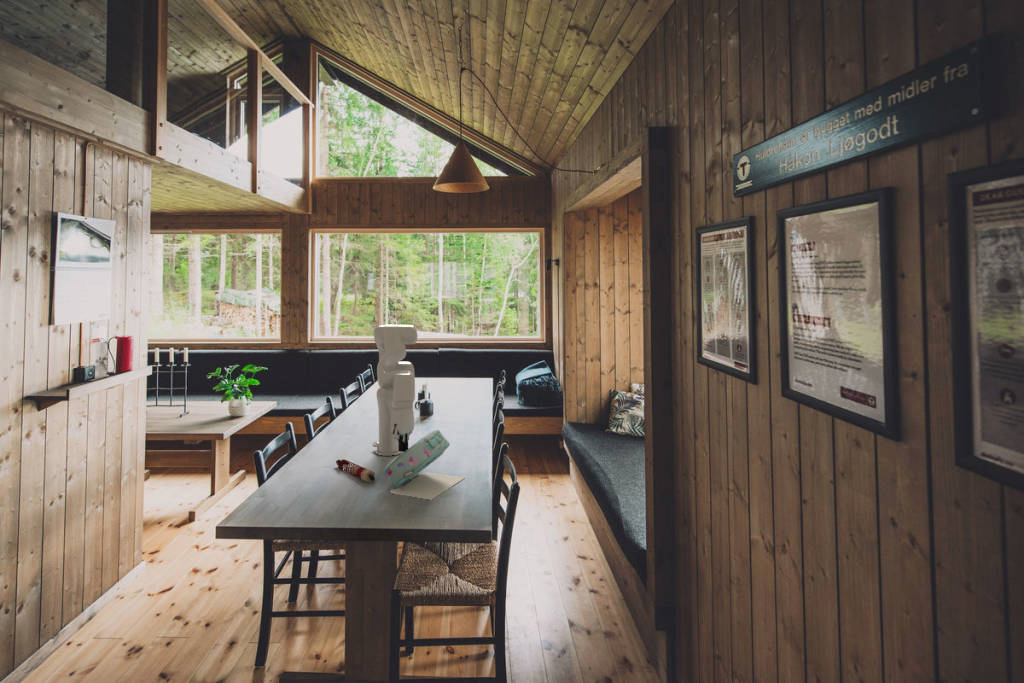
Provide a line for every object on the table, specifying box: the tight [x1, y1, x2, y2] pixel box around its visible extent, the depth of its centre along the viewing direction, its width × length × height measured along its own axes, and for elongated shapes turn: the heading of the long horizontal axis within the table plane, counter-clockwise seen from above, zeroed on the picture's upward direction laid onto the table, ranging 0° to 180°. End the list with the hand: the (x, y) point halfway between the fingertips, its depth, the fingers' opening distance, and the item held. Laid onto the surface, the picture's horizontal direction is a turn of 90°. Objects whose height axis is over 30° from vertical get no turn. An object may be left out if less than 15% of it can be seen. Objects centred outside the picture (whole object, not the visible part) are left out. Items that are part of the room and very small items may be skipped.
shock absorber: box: [335, 458, 376, 483], centre depth 214 cm, size 5×5×30 cm
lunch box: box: [383, 429, 451, 488], centre depth 205 cm, size 27×10×21 cm
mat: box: [389, 471, 465, 501], centre depth 203 cm, size 18×26×1 cm
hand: (403, 450), depth 206 cm, fingers closed
